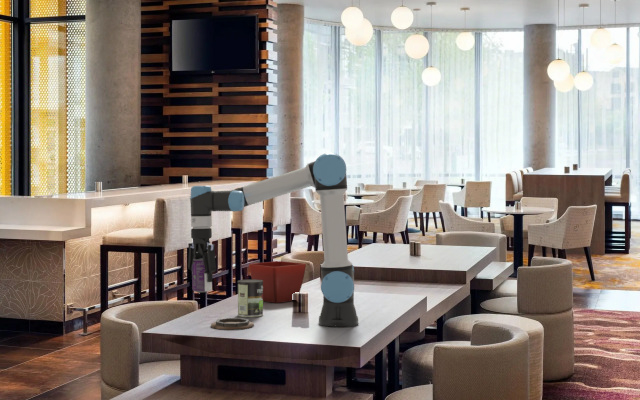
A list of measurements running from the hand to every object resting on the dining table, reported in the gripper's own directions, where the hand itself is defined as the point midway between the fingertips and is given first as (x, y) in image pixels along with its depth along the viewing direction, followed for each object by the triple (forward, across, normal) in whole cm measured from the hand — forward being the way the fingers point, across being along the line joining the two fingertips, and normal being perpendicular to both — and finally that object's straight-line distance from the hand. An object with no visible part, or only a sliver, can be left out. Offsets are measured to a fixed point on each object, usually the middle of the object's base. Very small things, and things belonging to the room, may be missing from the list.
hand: (202, 289), depth 306 cm
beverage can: (+1, 0, 0) cm, 1 cm away
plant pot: (+15, -36, +66) cm, 76 cm away
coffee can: (+15, -12, +32) cm, 37 cm away
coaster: (+14, +3, +12) cm, 19 cm away
